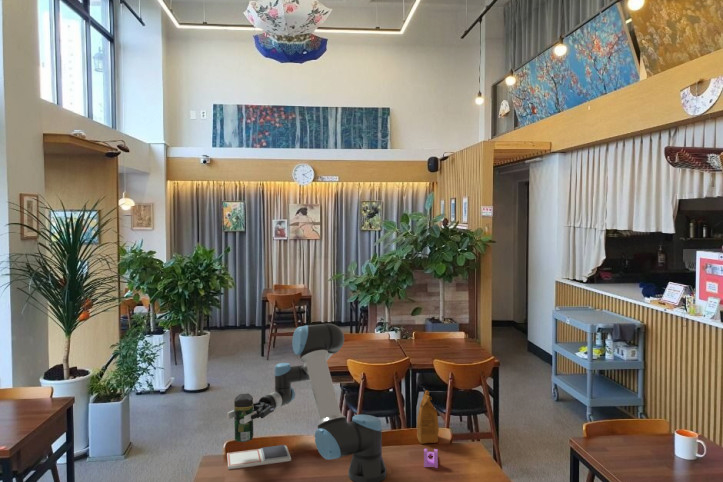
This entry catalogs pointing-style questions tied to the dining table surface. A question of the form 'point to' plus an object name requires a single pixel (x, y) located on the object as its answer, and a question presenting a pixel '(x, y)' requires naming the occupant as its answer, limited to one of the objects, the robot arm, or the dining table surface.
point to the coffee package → (427, 421)
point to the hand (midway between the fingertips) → (236, 417)
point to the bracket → (433, 461)
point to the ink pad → (274, 452)
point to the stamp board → (250, 459)
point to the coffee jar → (241, 409)
